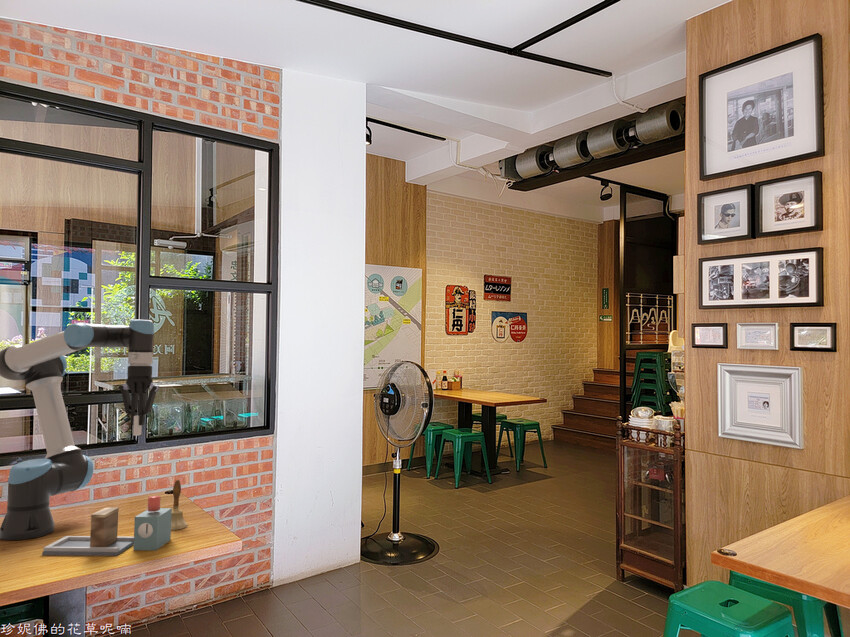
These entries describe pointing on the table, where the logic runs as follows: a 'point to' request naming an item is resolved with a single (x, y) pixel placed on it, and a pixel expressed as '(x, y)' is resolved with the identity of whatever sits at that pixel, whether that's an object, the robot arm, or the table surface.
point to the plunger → (154, 503)
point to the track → (86, 547)
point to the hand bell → (177, 509)
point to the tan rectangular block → (104, 527)
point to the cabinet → (152, 529)
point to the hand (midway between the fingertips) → (137, 434)
